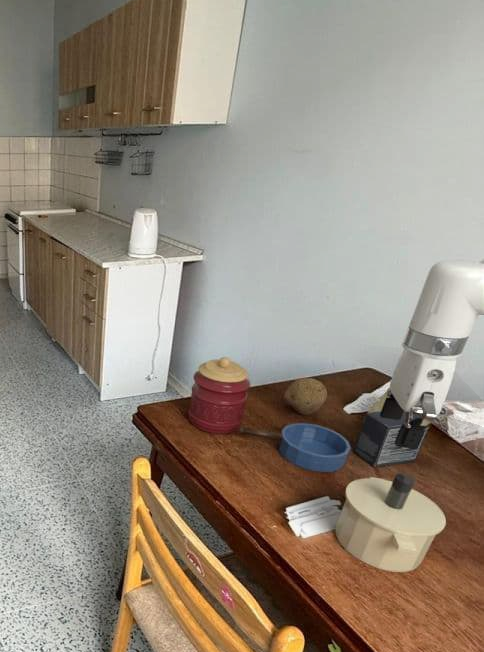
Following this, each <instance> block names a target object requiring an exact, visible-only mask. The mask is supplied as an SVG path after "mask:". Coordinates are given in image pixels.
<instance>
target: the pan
mask: <svg viewBox="0 0 484 652" xmlns="http://www.w3.org/2000/svg"><path fill="white" fill-rule="evenodd" d="M280 433H281V434H282V439H281V440H278V443H277V445H278V446H277V449H278V452H279V454H280V455H281V457H283V458H284V459H285V460H286V461H288V462H290V463H291V464H292V465H295V466H297V467H299V468H302V469H304V470H309V471H312V472H317V473H333V472H338V471H339V470H341V469H343V468H344V467H345V465H346V462H347V460H348V457H349V455H350V453H351V449H352V448H351V445H350V442H349V440H347V439H346V437H344V436H343V435H342V434H341V433H338V432H336V431H335V430H333V429H331V428H328V427H324V426H322V425H320V424H319V425H318V424H313V423H305V422H302V423H300V422H299V423H291V424H288V425H285V426H284V427H283V428H282V430H281V431H280Z"/></svg>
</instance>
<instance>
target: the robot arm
mask: <svg viewBox="0 0 484 652" xmlns="http://www.w3.org/2000/svg"><path fill="white" fill-rule="evenodd" d="M478 316H484V259H482V260H480V261H479V262H477V261H471V260H462V259H447V260H440V261H438V262H436V263H435V264H433V265H432V267H430V268H429V271H428V274H427V276H426V278H425V281H424V284H423V287H422V290H421V292H420V295H419V298H418V301H417V303H416V306H415V309H414V312H413V314H412V317H411V320H410V323H409V325H408V327H407V330H406V332H405V335H404V338H403V341H402V343H401V346H402V348H403V351H402V352H401V355H400V357H399V359H398V362H397V364H396V366H395V368H394V371H393V374H392V377H391V379H390V384H389V387H390V390H389V391H388V392H387V397H386V399H385V402H384V405H383V407H382V410H381V413H380V416H381V417H382V418H388V419H395V420H400V419H401V417H402V415H403V412H404V411H405V412H406V419H405V425H403V424H402V426H401V428H400V430H399V433H398V435H397V438H396V440H395V445H396V446H398V447H404V448H411V449H417V448H418V447H419V445H420V442H421V440H422V438H423V436H424V433H425V431H427V430H428V431H429V429H428V427H429V428H430V427H431V426H432V423H433V422H434V420H436V418H437V416H438V415H440V413H441V411H442V409H443V406H444V404H445V401H446V398H447V395H448V393H449V390H450V387H451V384H452V382H453V378H454V375H455V371H456V366H457V359H459V358H460V357H461V356H462V353H463V351H464V348H465V346H466V344H467V342H468V339H469V337H470V335H471V333H472V331H473V328H474V326H475V324H476V321H477V319H478ZM388 397H390V398H388ZM412 407H417V409H412ZM419 408H421V409H419ZM413 414H418V415H421V416H420V418H416V419H414V420H412V418H413ZM428 431H427V432H428Z"/></svg>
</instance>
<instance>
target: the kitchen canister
mask: <svg viewBox="0 0 484 652" xmlns="http://www.w3.org/2000/svg"><path fill="white" fill-rule="evenodd" d="M197 369H198V370H197V371H196V372H194V374H193V381H194V383H193V385H192V386H191V394H190V395H191V396H190V401H189V406H188V409H187V416H188V417H187V419H188V420H189V422H190V424H192V425H193V426H194V427H195V428H197V429H199V430H201V431H203V432H207V433H210V434H211V433H212V434H220V435H221V434H222V435H224V434H230V433H234V432H236V431H237V430H239V428H241V425H242V422H243V418H244V417H243V416H244V410H245V406H246V401H247V400H248V396H249V395H248V393H247V390H249V388H250V386H251V381H250V379H249V378H248V377H249V372H248V370H247V369H246V368H244V367H243V366H242V365H241V364H240V363H237V362H236V361H232V360H231V359H230V358H229V357H227V356H222V357H221V358H218V359H217V358H216V359H210V360H208V361H206V362H202V363H201V364H200V365H199V366H198V368H197Z"/></svg>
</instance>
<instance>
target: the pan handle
mask: <svg viewBox="0 0 484 652" xmlns="http://www.w3.org/2000/svg"><path fill="white" fill-rule="evenodd" d="M237 430H238V433H239V434H240V435H244V436H250V437H256V438H263V439H270V440H276V441H279V440H281V439H282V434H281V432H276V431H275V432H274V431H268V430H262V429H255V428H249V427H243V426H240V427H239V428H238V429H237Z"/></svg>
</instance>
